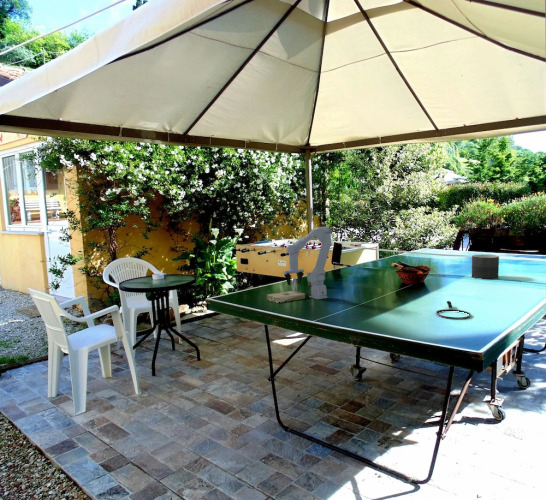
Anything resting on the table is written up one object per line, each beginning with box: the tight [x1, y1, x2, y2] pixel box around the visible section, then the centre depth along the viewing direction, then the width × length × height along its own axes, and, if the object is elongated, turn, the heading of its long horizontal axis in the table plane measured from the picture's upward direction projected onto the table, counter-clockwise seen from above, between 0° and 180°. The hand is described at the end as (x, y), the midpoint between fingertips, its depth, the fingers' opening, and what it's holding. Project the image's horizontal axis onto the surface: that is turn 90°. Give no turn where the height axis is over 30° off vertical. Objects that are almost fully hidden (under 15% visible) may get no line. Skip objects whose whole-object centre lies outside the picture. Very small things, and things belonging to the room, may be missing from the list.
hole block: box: [266, 290, 306, 304], centre depth 271 cm, size 12×20×3 cm, turn 120°
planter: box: [471, 254, 500, 280], centre depth 323 cm, size 18×18×16 cm
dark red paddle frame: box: [435, 300, 472, 319], centre depth 229 cm, size 28×16×3 cm, turn 166°
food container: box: [305, 271, 312, 288], centre depth 308 cm, size 12×6×10 cm, turn 62°
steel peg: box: [291, 277, 298, 292], centre depth 285 cm, size 3×3×10 cm
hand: (294, 284), depth 284 cm, fingers open, 7 cm apart
